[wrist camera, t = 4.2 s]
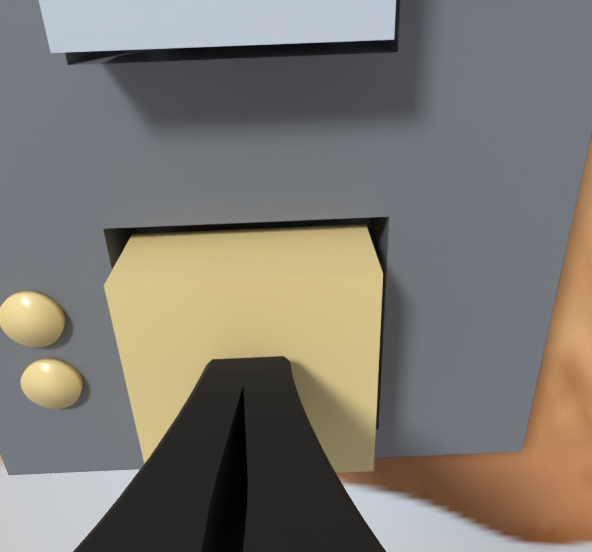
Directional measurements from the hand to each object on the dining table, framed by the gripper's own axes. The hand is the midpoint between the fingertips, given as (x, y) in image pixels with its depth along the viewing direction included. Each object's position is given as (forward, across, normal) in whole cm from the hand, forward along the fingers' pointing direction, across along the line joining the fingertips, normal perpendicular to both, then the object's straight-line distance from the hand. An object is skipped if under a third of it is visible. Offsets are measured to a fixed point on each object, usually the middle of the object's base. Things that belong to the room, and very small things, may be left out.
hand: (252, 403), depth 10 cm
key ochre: (+2, 0, 0) cm, 2 cm away
